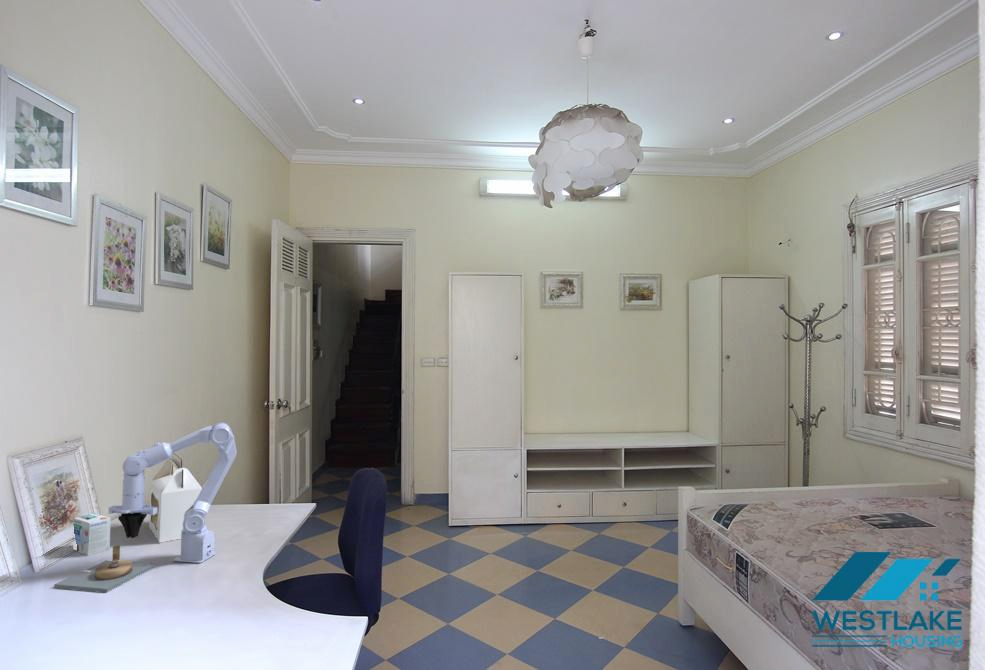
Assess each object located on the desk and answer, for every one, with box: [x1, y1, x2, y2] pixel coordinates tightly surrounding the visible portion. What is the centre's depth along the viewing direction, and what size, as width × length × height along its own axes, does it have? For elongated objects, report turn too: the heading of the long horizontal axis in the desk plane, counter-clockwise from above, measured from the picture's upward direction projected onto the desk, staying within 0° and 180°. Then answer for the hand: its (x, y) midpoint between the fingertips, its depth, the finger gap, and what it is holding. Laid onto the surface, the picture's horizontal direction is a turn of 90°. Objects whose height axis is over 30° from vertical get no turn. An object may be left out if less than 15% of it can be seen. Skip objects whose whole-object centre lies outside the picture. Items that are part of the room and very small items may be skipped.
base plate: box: [53, 560, 155, 593], centre depth 156 cm, size 17×17×1 cm
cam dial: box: [95, 544, 133, 580], centre depth 158 cm, size 12×9×6 cm
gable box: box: [148, 452, 203, 544], centre depth 196 cm, size 22×13×28 cm, turn 41°
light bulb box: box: [72, 512, 112, 557], centre depth 177 cm, size 11×7×11 cm, turn 62°
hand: (132, 536), depth 164 cm, fingers closed
